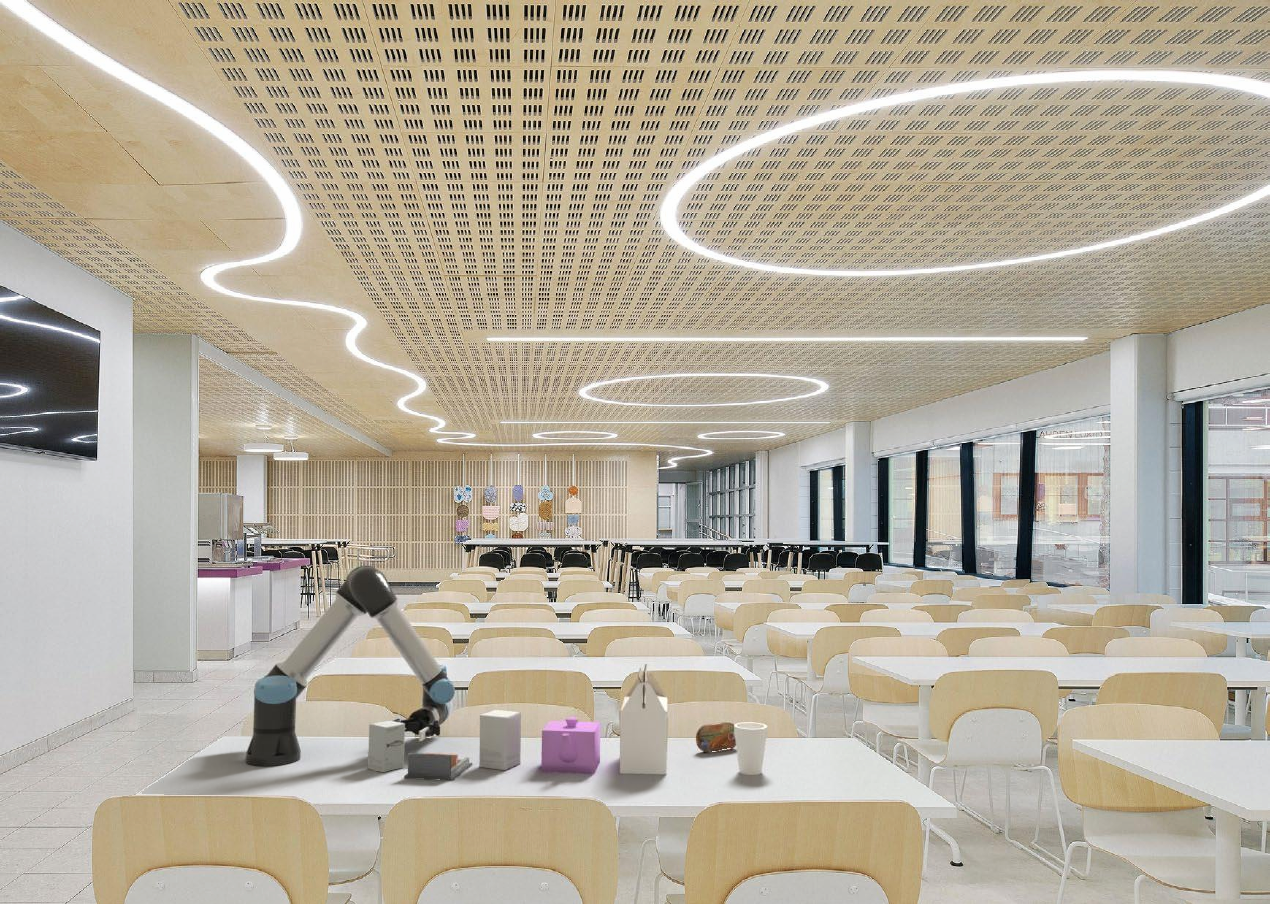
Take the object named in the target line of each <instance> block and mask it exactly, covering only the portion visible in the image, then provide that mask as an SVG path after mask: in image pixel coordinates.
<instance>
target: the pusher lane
mask: <svg viewBox="0 0 1270 904" xmlns="http://www.w3.org/2000/svg"><path fill="white" fill-rule="evenodd" d="M442 754H443V753H442ZM442 754H425V753H418V752H416V753H415V752H409V753H408V754H407V755H408V756H407V773H406V774H404V776H403V778H404V779H412V778H424V779H423V780H432V779H440V780H439V781H451V780H453V781H455V780H456V779H457V778H458V777H460V776H461V775H462V774H463V773H465V772H466V771H467V770H469V768H470V767H472V766H473V763H472V762H470V757H469V756H465V757H464V758H460V759H459V758H458V763H457V764H456V765H455V766H453V767H452V768H451V755H442ZM465 770H466V771H465ZM455 778H456V779H455Z"/></svg>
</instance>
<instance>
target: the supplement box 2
mask: <svg viewBox="0 0 1270 904" xmlns="http://www.w3.org/2000/svg"><path fill="white" fill-rule="evenodd" d="M521 730H522V712H520V711H519V712H518V711H511V710H501V709H494V710H491V711H489V712H486V713H485V712H484V713H482V714H480V715H479V762H478V763H479V767H478V768H483V767H484V769H491V770H492V769H493V770H499V771H500V770H501V771H507V770H509V769H511V768H513V767H515V766H518V765H520V764H521V750H522V749H521V746H522V745H521V741H522V740H521V738H522V737H521V736H522V735H521V732H522V731H521Z"/></svg>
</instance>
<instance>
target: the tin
mask: <svg viewBox="0 0 1270 904" xmlns="http://www.w3.org/2000/svg"><path fill="white" fill-rule="evenodd" d="M734 725H735V724H734V723H732V722H719V723H712V724H709V723H708V724H704V725H702V726H701V727H699V729H698V730H697V732H696V735H695V742H696V746H697V748H698V749H699V750H700V751H702V752H705V753H707V754H711V753H710V752H712V751H719V750H722V749H727V748H733V749H734V748H736V740H735V734H734Z"/></svg>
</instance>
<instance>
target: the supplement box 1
mask: <svg viewBox="0 0 1270 904" xmlns="http://www.w3.org/2000/svg"><path fill="white" fill-rule="evenodd" d="M368 726H369V727H368V728H369V729H368V750H367V751H368V752H367V753H368V755H367V769H369V770H371V771H375V772H376V771H377V772H381V773H383V772H384V773H386V772H389V771H394V770H398V769H403V768H404V767H405V766H404V765H405V738H406V737H405V736H406V735H405V734H406V732H405V729H406V728H405V723H400V722H395V721H393V720H387V721H386V720H385V721H380V722H374V723H371V724H369V725H368Z"/></svg>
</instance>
